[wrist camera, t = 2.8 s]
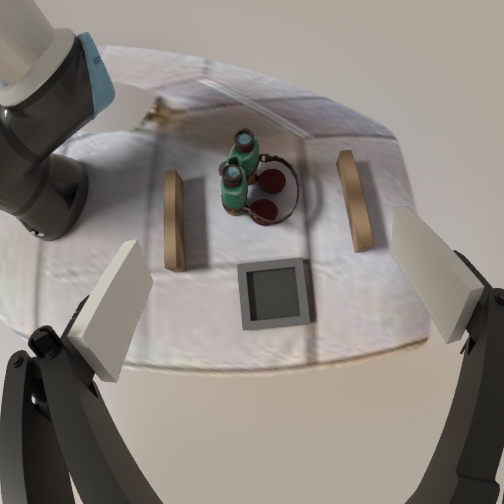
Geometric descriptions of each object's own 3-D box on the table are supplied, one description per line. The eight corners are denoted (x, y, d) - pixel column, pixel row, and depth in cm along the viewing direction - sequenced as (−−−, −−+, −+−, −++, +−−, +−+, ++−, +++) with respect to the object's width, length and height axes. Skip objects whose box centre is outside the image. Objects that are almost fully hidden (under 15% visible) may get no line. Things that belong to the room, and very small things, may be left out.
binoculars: (301, 210, 27) (201, 184, 27) (286, 236, 37) (213, 216, 37) (317, 136, 28) (228, 115, 29) (301, 177, 39) (232, 159, 39)
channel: (365, 251, 35) (373, 244, 31) (174, 272, 36) (164, 267, 33) (346, 163, 38) (351, 150, 34) (173, 183, 39) (164, 172, 36)
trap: (308, 322, 34) (309, 323, 33) (243, 329, 34) (243, 330, 33) (301, 258, 35) (302, 257, 34) (238, 265, 36) (237, 264, 35)
